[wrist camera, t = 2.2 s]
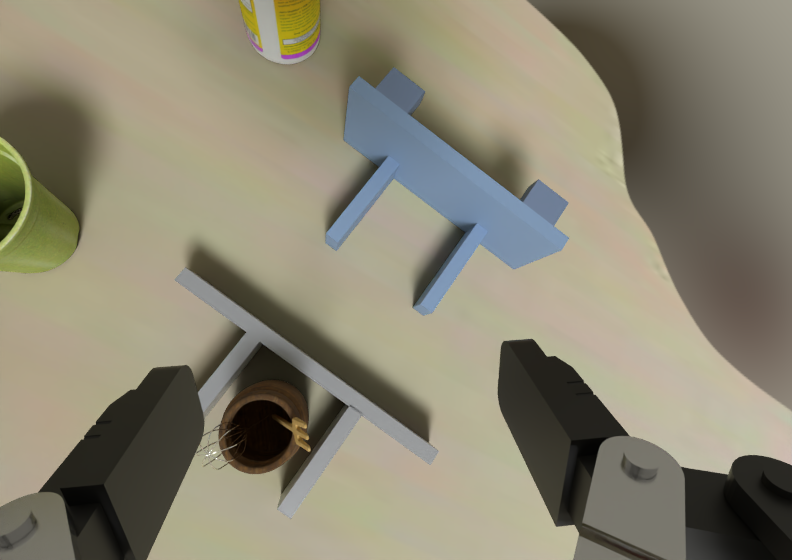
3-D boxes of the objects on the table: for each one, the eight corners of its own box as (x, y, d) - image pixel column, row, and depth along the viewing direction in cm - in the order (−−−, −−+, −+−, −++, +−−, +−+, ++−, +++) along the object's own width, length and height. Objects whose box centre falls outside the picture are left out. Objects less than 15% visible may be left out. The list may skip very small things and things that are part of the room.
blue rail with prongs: (464, 345, 37) (502, 345, 29) (282, 211, 36) (272, 173, 28) (532, 240, 40) (583, 214, 32) (366, 113, 39) (377, 54, 31)
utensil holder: (227, 387, 33) (177, 408, 21) (306, 370, 34) (299, 382, 23) (238, 463, 32) (191, 527, 21) (318, 443, 34) (317, 493, 22)
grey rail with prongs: (360, 551, 33) (364, 570, 30) (109, 374, 32) (88, 376, 29) (429, 442, 35) (438, 451, 32) (196, 274, 34) (185, 267, 31)
